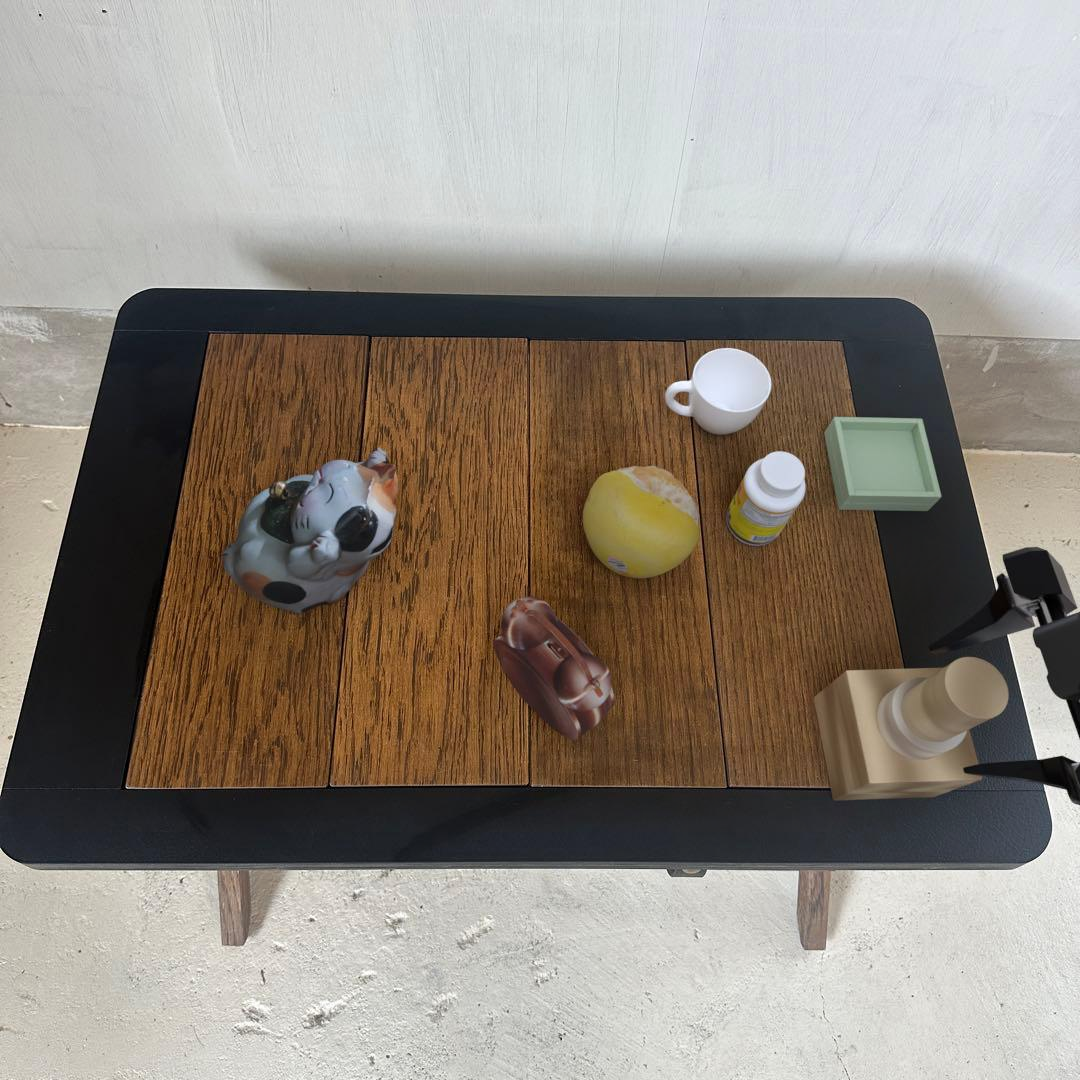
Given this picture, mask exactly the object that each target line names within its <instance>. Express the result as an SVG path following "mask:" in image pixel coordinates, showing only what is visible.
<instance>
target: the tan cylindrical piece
mask: <svg viewBox="0 0 1080 1080" xmlns="http://www.w3.org/2000/svg"><path fill="white" fill-rule="evenodd" d="M942 668H943V669H941V670H940V671H938V672H936V673H935V674H933V675H932V676H930V677H929V678H928V677H916V678H912V679H909V680H907V681H905V682H903V683H902V684H900V685H899V686H898V687H896V688H895V689H893V690H892V691H890V692H889V693H887V694H886V695H885V696H884V697H883V699H882V700H881V702H880V704H879V706H878V710H877V723H878V727H879V730H880V732H881V734H882V736H883V738H884V739H885V741H886V742H887V743H888V745H889V746H890V747H891V748H892V749H894V750H895V751H896V752H898V753H899V754H901V755H903V756H905V757H908V758H911V759H915V760H927V759H931V758H934V757H936V756H938V755H940V754H942V753H945V752H947V751H949V750H951V749H953V748H955V747H956V746H957V745H959V744H960V743H961V742H962V740H963V739H964V737H965V735H966V732H967V730H971V729H973V728H976V727H978V726H979V725H981V724H983V723H986V722H987V721H990V720H991V719H994V718H996V717H998V716H999V715H1000V714H1002V713H1003V712H1004V710H1005V709H1006V708H1007V705H1008V703H1009V698H1010V697H1009V696H1010V694H1009V687H1008V684H1007V682H1006V679H1005V678H1004V676H1003V674H1002V673H1001V671H1000V670H999V669H997V668H996V666H995V665H993V664H992V663H990V662H988V661H987V660H985V659H982V658H979V657H975V656H963V657H959V658H957V659H954V660H953V661H952V662H950V663H949V664H947V665H946V666H943V667H942Z"/></svg>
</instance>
